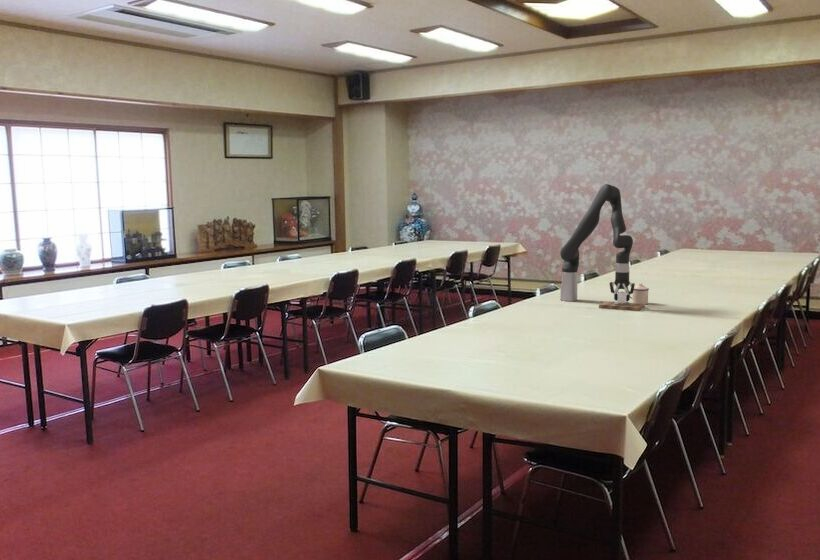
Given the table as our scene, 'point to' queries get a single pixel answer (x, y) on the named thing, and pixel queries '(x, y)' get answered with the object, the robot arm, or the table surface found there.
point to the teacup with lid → (640, 294)
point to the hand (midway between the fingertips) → (621, 300)
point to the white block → (621, 297)
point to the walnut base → (622, 306)
